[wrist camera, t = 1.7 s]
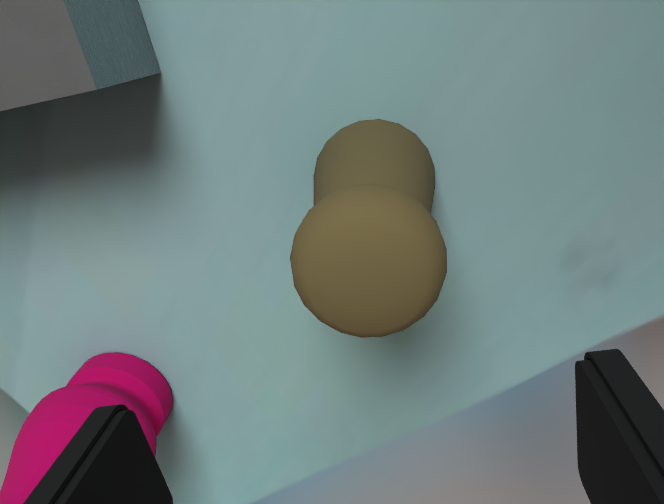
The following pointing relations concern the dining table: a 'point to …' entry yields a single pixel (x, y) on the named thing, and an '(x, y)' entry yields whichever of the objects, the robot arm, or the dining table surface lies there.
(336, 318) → the cork
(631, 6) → the dining table surface
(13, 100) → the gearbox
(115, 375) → the pepper mill
